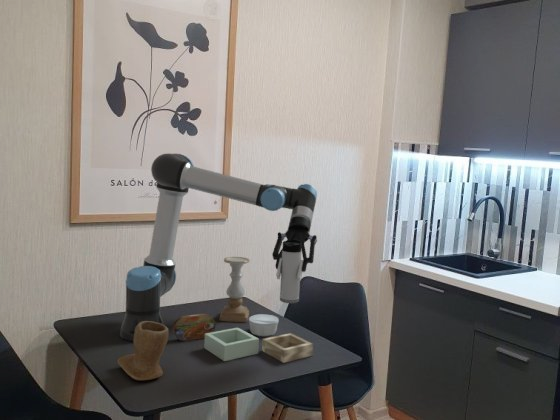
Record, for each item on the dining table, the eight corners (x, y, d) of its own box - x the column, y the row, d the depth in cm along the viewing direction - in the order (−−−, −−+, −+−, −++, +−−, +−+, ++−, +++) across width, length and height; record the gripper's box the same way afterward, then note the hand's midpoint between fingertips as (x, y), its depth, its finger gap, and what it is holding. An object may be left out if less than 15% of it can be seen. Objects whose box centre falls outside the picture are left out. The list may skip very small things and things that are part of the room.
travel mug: (301, 299, 172) (304, 240, 170) (295, 304, 166) (298, 243, 164) (283, 297, 174) (286, 238, 172) (277, 301, 168) (280, 241, 166)
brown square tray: (283, 362, 163) (284, 350, 163) (261, 350, 173) (262, 339, 173) (312, 355, 171) (313, 343, 170) (290, 344, 180) (290, 333, 180)
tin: (174, 342, 177) (174, 318, 176) (171, 339, 180) (172, 315, 179) (215, 337, 184) (216, 314, 183) (212, 334, 187) (213, 311, 186)
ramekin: (254, 339, 184) (255, 324, 184) (243, 329, 194) (244, 315, 194) (283, 335, 189) (283, 321, 188) (271, 326, 199) (271, 313, 198)
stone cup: (173, 378, 149) (175, 327, 147) (133, 386, 142) (134, 333, 140) (154, 360, 161) (155, 313, 160) (116, 367, 154) (117, 318, 153)
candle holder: (222, 313, 213) (224, 255, 211) (249, 314, 213) (251, 257, 210) (218, 321, 202) (221, 261, 200) (246, 322, 202) (249, 262, 199)
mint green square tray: (224, 361, 162) (224, 345, 162) (204, 348, 173) (204, 333, 172) (258, 353, 170) (258, 338, 170) (237, 341, 181) (237, 327, 180)
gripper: (328, 230, 181) (318, 287, 166) (275, 226, 185) (261, 281, 171) (327, 217, 175) (316, 274, 161) (272, 213, 179) (257, 268, 165)
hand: (288, 277), depth 166 cm, fingers closed on travel mug, 6 cm apart
